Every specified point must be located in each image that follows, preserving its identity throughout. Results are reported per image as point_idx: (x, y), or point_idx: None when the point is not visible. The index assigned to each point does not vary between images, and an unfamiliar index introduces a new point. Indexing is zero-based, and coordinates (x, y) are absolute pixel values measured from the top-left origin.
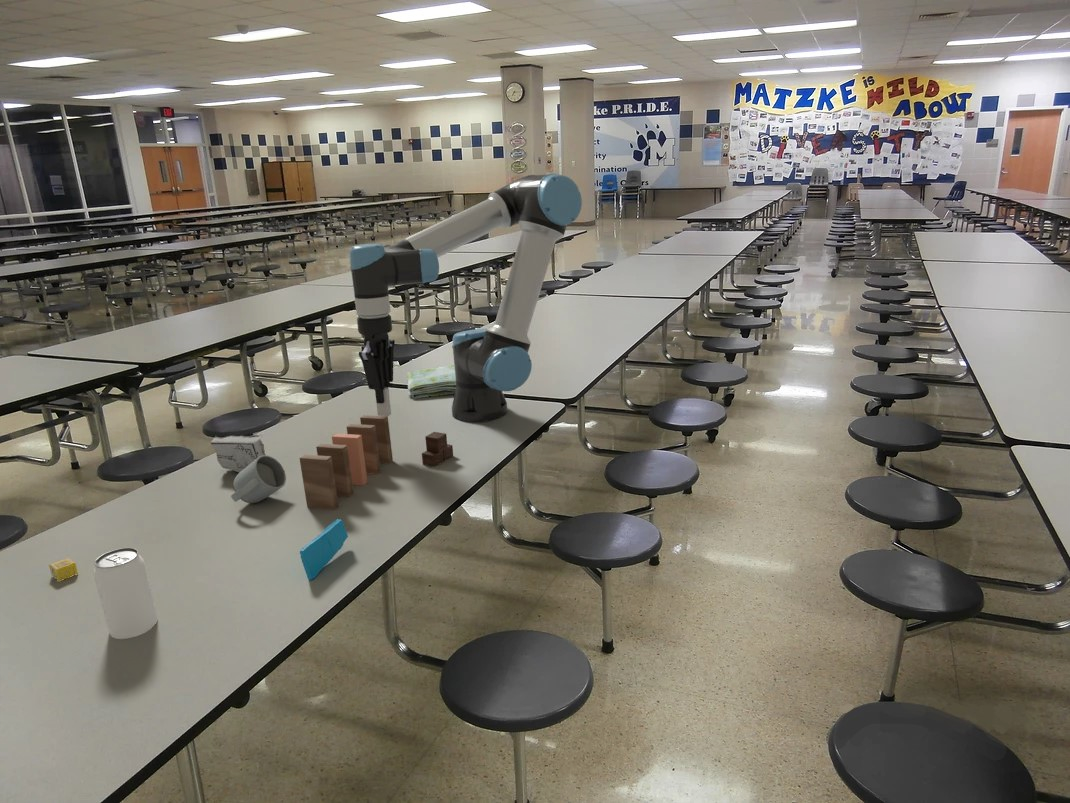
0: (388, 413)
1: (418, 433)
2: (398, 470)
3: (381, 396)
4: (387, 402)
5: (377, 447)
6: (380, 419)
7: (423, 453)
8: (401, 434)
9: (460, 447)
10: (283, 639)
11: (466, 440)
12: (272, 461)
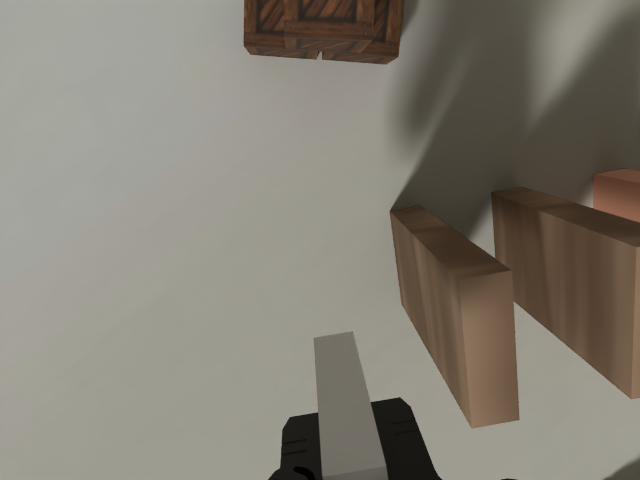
0: (347, 340)
1: (91, 297)
2: (464, 131)
3: (415, 437)
4: (353, 384)
5: (552, 213)
6: (510, 292)
7: (395, 47)
8: (134, 353)
9: (145, 8)
10: None
11: (55, 30)
12: None
